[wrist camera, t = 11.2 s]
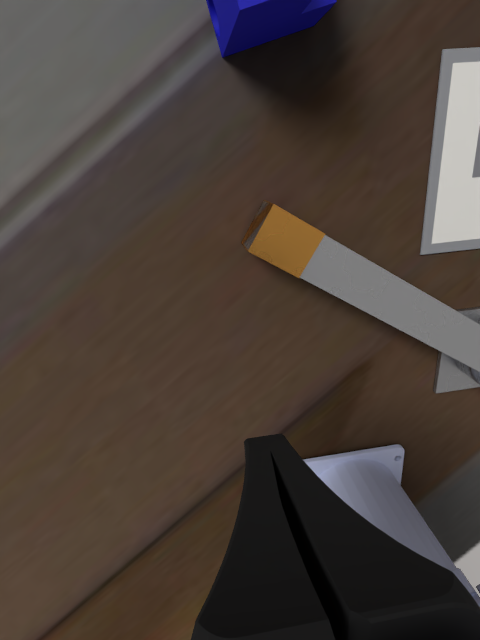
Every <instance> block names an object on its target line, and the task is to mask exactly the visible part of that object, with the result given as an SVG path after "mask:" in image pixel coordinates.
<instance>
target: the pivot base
mask: <svg viewBox="0 0 480 640" xmlns="http://www.w3.org/2000/svg"><path fill="white" fill-rule="evenodd" d="M456 311H457V312H459V313H461V314H463V315H464V316H466V317H468V318H469V319H471V320H473V321H475V322H476V323H478V324H480V307H475V308H467V309H459V310H456ZM475 387H480V385H479V384H478V383H477V382H475V381H474V380H473V379H471V378H470V377H469V376H467V375H466V374H465V373H463V372H462V371H461V370H460V369H459V367H458V365H457V362H456V359H454V358H452V357H450V356H448V355H447V354H445V353H443V352H441V351H439V353H438V361H437V368H436V375H435V382H434V389H433V391H434V392H435V393H442V392H448V391H455V390H462V389H468V388H475Z"/></svg>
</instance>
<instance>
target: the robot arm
mask: <svg viewBox="0 0 480 640" xmlns="http://www.w3.org/2000/svg"><path fill="white" fill-rule="evenodd" d="M244 447H245V459H246V468H245V477H244V485H243V491H242V496H241V501H240V506H239V511H238V515H237V519H236V522H235V526H234V530H233V533H232V536H231V539H230V542H229V545H228V548H227V551H226V554H225V557H224V559H223V562H222V565H221V567H220V569H219V572H218V574H217V577H216V579H215V582H214V584H213V586H212V589H211V591H210V593H209V595H208V597H207V599H206V601H205V603H204V605H203V607H202V609H201V611H200V613H199V615H198V617H197V619H196V622H195V626H194V630H193V634H192V638H191V640H480V597H479V596H478V594H477V593H476V592H475V590H474V589H473V587H472V586H471V584H470V583H469V581H468V580H467V579H466V577H465V576H464V574H463V573H462V571H461V570H460V569H459V568H456V566H455V565H454V563H453V562H452V560H451V559H450V558H449V556H448V555H447V553H446V552H445V550H444V549H443V547H442V546H441V544H440V543H439V541H438V540H437V538H436V537H435V535H434V534H433V533H432V531H431V530H430V528H429V527H428V525H427V524H426V522H425V521H424V519H423V518H422V516H421V515H420V513H419V512H418V510H417V509H416V508H415V506H414V505H413V503H412V502H411V500H410V499H409V497H408V496H407V494H406V493H405V491H404V490H403V488H402V487H401V478H402V469H403V460H404V452H405V451H404V449H403V447H402V446H401V445H399V444H396V445H390V446H383V447H377V448H371V449H365V450H359V451H353V452H347V453H340V454H334V455H328V456H322V457H316V458H310V459H304V460H303V459H302V458H301V457H300V456H299V455H298V453H297V452H296V451H295V450H294V448H293V447H292V446H291V445H290V443H289V442H288V440H287V439H286V438H285V436H284V435H282V434H275V435H269V436H262V437H255V438H248V439H246V440H245V441H244ZM396 456H397V457H396ZM476 588H477V589H478V591H479V593H480V584H479V585H478V586H476Z"/></svg>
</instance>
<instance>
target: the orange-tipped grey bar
mask: <svg viewBox="0 0 480 640" xmlns="http://www.w3.org/2000/svg"><path fill="white" fill-rule="evenodd" d="M241 243H242V244H243V246H244V247H245V248H246V250H247V251H248V252H250V253H252V254H254V255H255V256H257V257H259V258H261V259H263V260H265V261H267V262H269V263H271V264H273V265H275V266H276V267H278V268H280V269H282V270H284V271H286V272H288V273H290V274H292V275H294V276H296V277H297V278H299V277H300V278H302V279H304V280H306V281H307V282H309V283H311V284H313V285H315V286H317V287H319V288H321V289H323V290H325V291H327V292H328V293H330V294H332V295H334V296H336V297H338V298H340V299H342V300H344V301H346V302H347V303H349V304H351V305H353V306H355V307H357V308H359V309H361V310H363V311H365V312H367V313H368V314H370V315H372V316H374V317H376V318H378V319H380V320H382V321H384V322H386V323H387V324H389V325H391V326H393V327H395V328H397V329H399V330H401V331H403V332H405V333H407V334H408V335H410V336H412V337H414V338H416V339H418V340H420V341H422V342H424V343H426V344H427V345H429V346H431V347H433V348H435V349H437V350H439V351H441V352H443V353H445V354H447V355H448V356H450V357H452V358H454V359H456V362H457V365H458V367H459V369H460V370H461V371H462V372H463V373H465V374H466V375H467V376H469V377H470V378H471V379H473V380H474V381H475V382H477V383H478V384H479V385H480V324H478V323H476V322H475V321H473V320H471V319H469V318H468V317H466V316H464V315H463V314H461V313H459V312H457V311H456V310H454V309H452V308H450V307H449V306H447V305H445V304H444V303H442V302H440V301H438V300H437V299H435V298H433V297H431V296H430V295H428V294H426V293H424V292H423V291H421V290H419V289H418V288H416V287H414V286H412V285H411V284H409V283H407V282H405V281H404V280H402V279H400V278H399V277H397V276H395V275H393V274H392V273H390V272H388V271H386V270H385V269H383V268H381V267H380V266H378V265H376V264H374V263H373V262H371V261H369V260H367V259H366V258H364V257H362V256H360V255H359V254H357V253H355V252H354V251H352V250H350V249H348V248H347V247H345V246H343V245H341V244H340V243H338V242H336V241H335V240H333V239H331V238H329V237H328V236H326V235H325V233H323V232H321V231H319V230H318V229H316V228H314V227H313V226H311V225H309V224H307V223H306V222H304V221H302V220H300V219H299V218H297V217H295V216H294V215H292V214H290V213H288V212H287V211H285V210H283V209H281V208H280V207H278V206H276V205H275V204H273V203H270V202H268V201H265V200H264V201H263V203H262V205H261V207H260V208H259V210H258V212H257V214H256V216H255V218H254V220H253V221H252V223H251V225H250V227H249V229H248V231H247V233H246V235H245V236H244V238H243V240H242V242H241Z"/></svg>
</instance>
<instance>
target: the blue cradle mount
mask: <svg viewBox="0 0 480 640" xmlns="http://www.w3.org/2000/svg"><path fill="white" fill-rule="evenodd" d="M206 1H207V5H208V8H209V12H210V16H211V19H212V23H213V26H214V30H215V33H216V37H217V40H218V44H219V48H220V51H221V55H222V58H223V57H226V56H228V55H231V54H234V53H237V52H240V51H243V50H246V49H249V48H252V47H254V46H257V45H260V44H263V43H266V42H269V41H272V40H275V39H278V38H280V37H283V36H286V35H289V34H292V33H295V32H298V31H301V30H304V29H306V28H309V27H312V26H314V25H315V24H316V23H317V22H318V21H319V20H320V19H321V18H322V17H323V16H324V15H325V14H326V13H327V12H328V10H329V9H330V8H331V7H332V6H333V5H334V4H335V3H336V2H337V1H336V0H206Z"/></svg>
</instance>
